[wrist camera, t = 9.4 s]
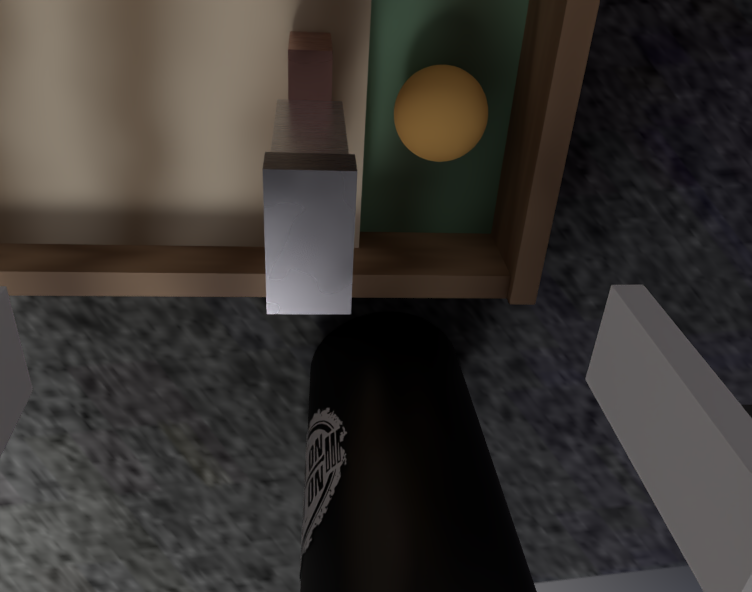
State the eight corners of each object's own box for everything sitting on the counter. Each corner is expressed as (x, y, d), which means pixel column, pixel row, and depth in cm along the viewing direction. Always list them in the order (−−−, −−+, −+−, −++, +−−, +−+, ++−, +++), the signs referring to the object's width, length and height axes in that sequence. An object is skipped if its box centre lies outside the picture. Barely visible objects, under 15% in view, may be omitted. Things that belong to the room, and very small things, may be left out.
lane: (-60, 244, 34) (-113, 301, 29) (-182, -150, 25) (-281, -149, 21) (509, 251, 36) (534, 304, 32) (572, -101, 28) (619, -92, 24)
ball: (499, 169, 30) (452, 134, 33) (514, 77, 28) (462, 48, 31) (417, 183, 29) (376, 145, 32) (426, 88, 26) (380, 56, 29)
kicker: (281, 173, 31) (267, 336, 20) (279, 30, 27) (261, 138, 17) (336, 175, 31) (349, 337, 21) (340, 33, 28) (359, 141, 17)
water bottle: (308, 287, 37) (306, 777, 17) (493, 310, 38) (680, 779, 19) (284, 430, 42) (261, 929, 22) (448, 444, 44) (557, 919, 24)
